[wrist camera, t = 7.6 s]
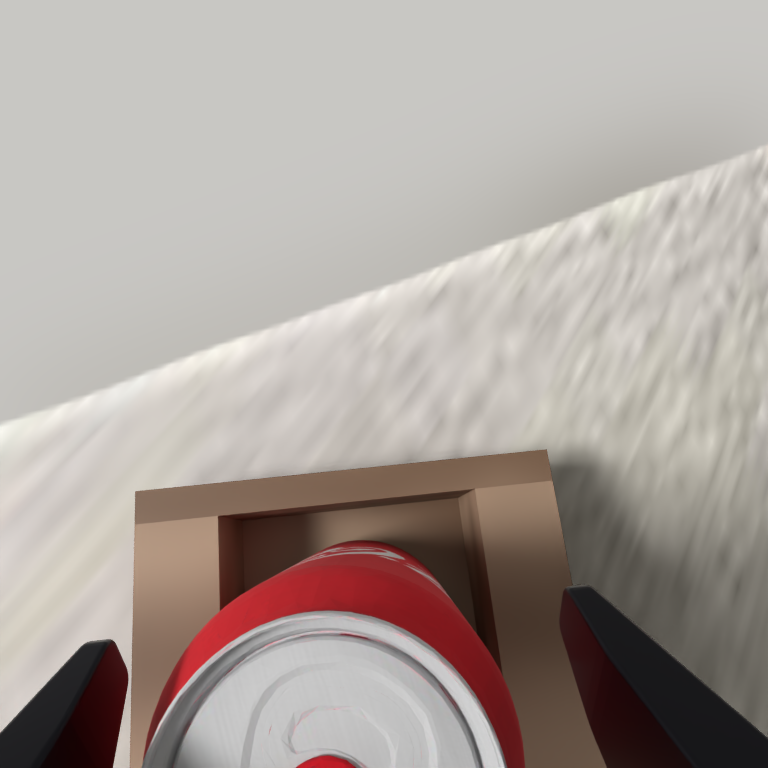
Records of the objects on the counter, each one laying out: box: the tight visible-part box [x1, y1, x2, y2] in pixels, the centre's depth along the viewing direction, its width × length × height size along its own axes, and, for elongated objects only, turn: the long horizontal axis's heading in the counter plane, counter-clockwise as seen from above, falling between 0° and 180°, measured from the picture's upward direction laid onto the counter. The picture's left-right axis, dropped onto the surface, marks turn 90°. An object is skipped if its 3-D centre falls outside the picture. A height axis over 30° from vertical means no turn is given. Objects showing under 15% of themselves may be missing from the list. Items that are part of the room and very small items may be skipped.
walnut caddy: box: [130, 449, 607, 768], centre depth 17 cm, size 15×13×4 cm
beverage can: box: [142, 540, 525, 768], centre depth 13 cm, size 6×6×12 cm
